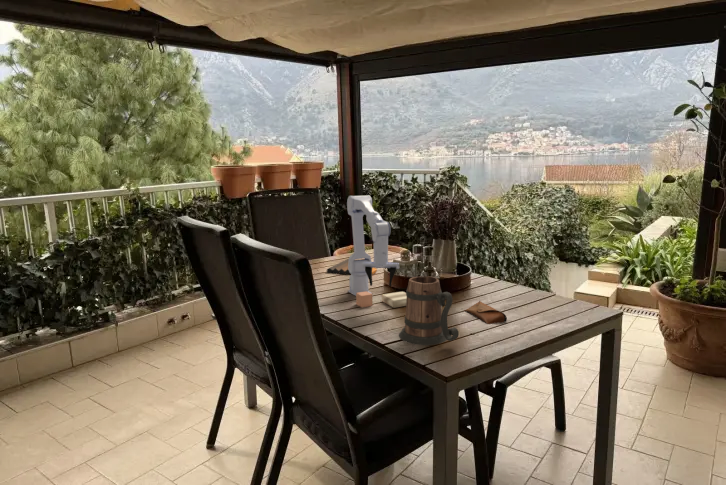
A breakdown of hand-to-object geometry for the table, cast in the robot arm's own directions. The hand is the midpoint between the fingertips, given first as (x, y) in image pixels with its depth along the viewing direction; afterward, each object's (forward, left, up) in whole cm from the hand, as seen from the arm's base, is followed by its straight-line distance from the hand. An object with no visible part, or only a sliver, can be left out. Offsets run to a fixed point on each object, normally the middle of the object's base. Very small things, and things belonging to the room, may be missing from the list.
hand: (380, 285), depth 196 cm
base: (-3, +10, -10) cm, 14 cm away
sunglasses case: (+27, +31, -10) cm, 42 cm away
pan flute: (-66, +21, -10) cm, 70 cm away
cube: (-7, -4, -10) cm, 13 cm away
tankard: (+37, -1, -10) cm, 38 cm away
